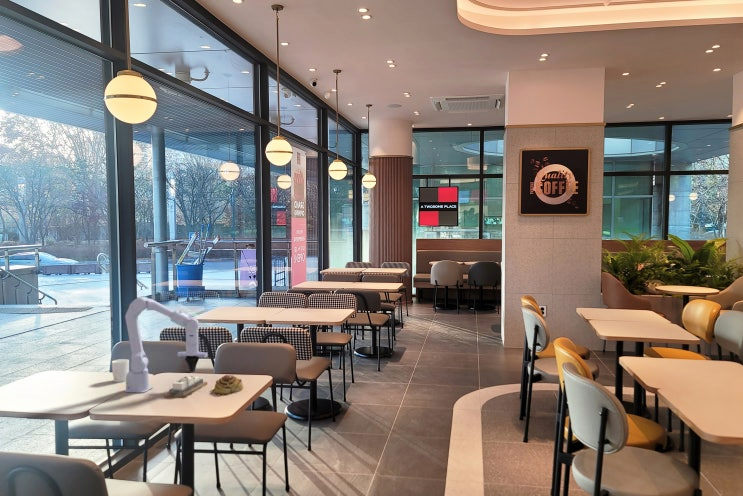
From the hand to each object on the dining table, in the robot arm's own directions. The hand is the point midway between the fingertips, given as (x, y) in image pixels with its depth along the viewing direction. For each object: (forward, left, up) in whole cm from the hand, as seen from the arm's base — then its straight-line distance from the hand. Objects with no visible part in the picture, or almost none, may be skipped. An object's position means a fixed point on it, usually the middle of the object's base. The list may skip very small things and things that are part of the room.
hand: (192, 371), depth 255 cm
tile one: (0, -12, -5) cm, 13 cm away
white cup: (-42, +5, -8) cm, 43 cm away
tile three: (0, 0, -6) cm, 6 cm away
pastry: (+20, -2, -8) cm, 21 cm away
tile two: (0, -6, -5) cm, 8 cm away
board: (0, -6, -7) cm, 9 cm away
